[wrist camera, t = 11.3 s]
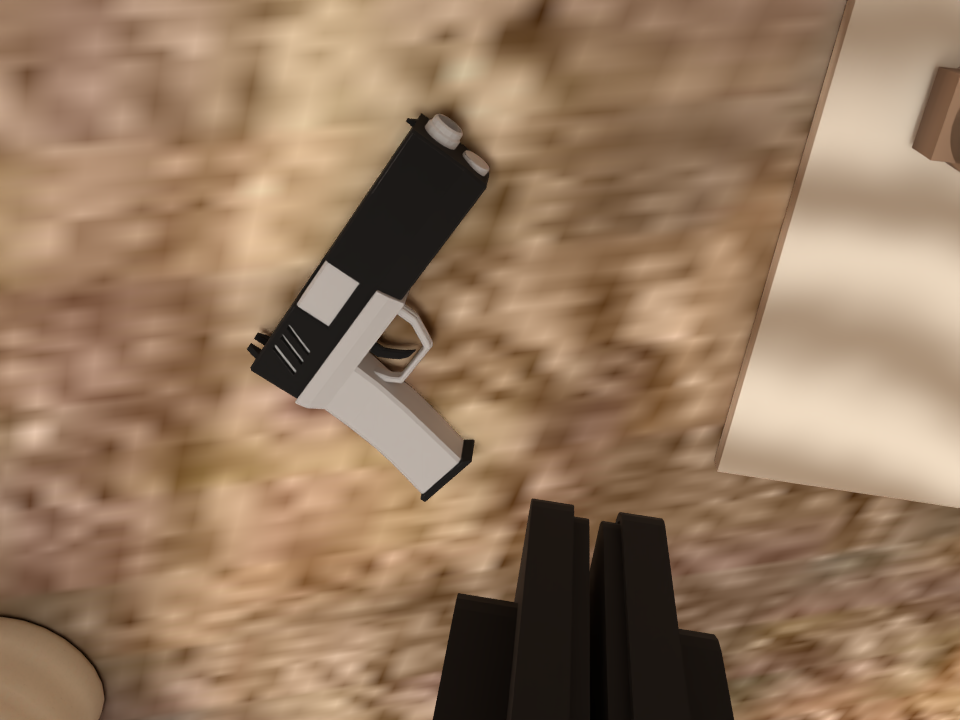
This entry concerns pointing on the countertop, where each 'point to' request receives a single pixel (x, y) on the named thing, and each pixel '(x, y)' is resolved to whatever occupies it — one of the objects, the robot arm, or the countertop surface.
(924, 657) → the countertop surface
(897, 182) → the hinge board
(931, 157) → the walnut link
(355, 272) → the toy gun
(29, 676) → the lamp
